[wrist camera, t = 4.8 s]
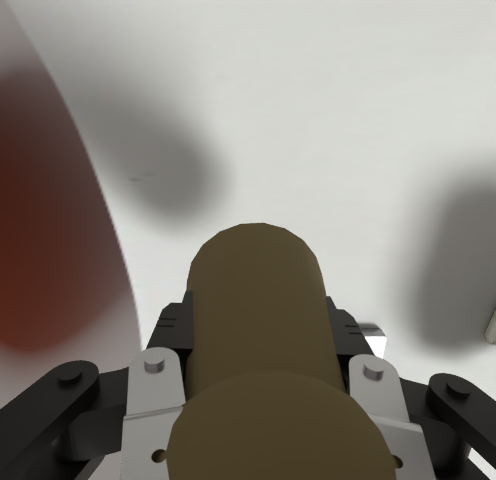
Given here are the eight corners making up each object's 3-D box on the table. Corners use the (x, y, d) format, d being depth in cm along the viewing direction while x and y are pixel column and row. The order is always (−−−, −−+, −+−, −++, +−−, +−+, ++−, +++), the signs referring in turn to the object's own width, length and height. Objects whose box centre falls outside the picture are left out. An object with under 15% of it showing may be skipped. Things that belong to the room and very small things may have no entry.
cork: (258, 366, 17) (285, 770, 6) (159, 292, 15) (-16, 657, 5) (350, 282, 15) (581, 627, 5) (250, 193, 14) (277, 408, 3)
